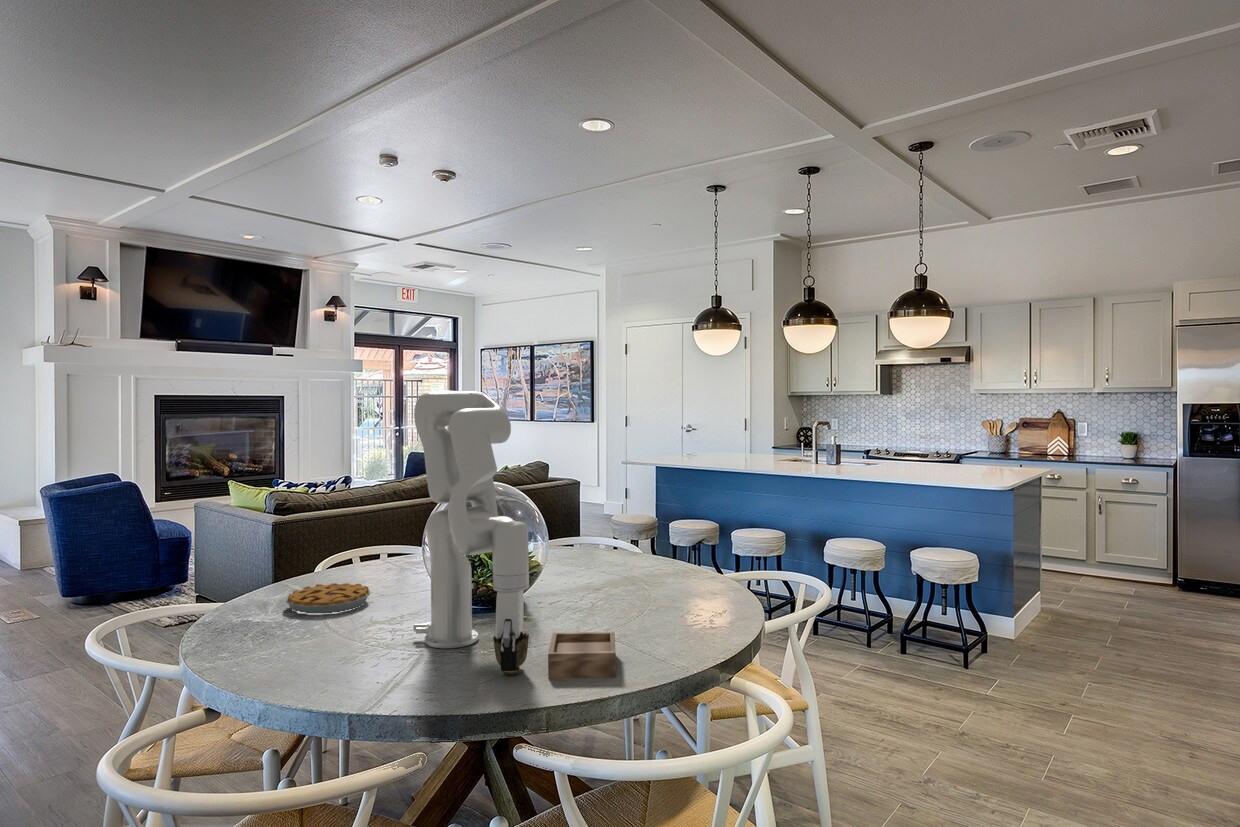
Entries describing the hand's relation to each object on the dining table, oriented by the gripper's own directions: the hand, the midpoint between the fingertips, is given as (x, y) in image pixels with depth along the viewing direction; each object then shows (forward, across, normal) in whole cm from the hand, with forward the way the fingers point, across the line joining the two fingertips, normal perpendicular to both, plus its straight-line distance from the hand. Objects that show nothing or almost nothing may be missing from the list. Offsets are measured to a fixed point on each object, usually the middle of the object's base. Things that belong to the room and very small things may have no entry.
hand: (511, 662), depth 155 cm
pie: (+2, -54, -58) cm, 79 cm away
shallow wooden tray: (+3, -4, +15) cm, 16 cm away
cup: (+3, 0, 0) cm, 3 cm away
